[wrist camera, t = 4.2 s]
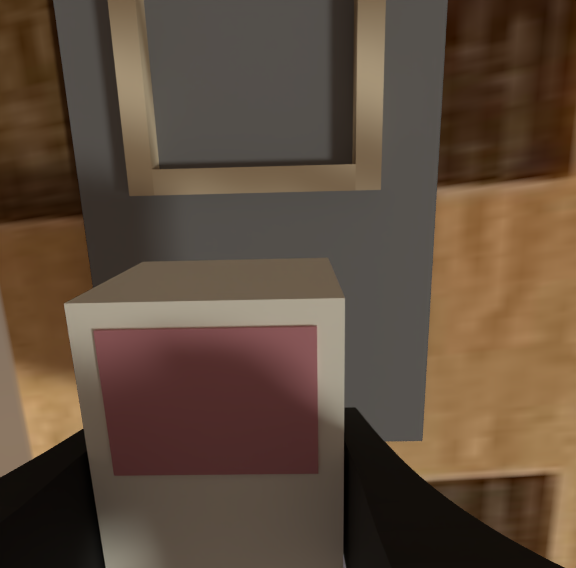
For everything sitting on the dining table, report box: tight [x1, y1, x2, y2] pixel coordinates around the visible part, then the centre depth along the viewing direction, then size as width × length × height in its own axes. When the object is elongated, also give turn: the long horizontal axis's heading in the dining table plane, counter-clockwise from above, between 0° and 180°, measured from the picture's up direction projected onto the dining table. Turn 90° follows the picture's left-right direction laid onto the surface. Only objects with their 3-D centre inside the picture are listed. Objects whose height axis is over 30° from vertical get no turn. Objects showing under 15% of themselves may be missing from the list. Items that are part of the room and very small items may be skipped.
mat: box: [53, 0, 448, 441], centre depth 18 cm, size 26×15×1 cm, turn 1°
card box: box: [64, 258, 345, 568], centre depth 10 cm, size 9×5×4 cm, turn 1°
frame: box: [108, 0, 386, 196], centre depth 16 cm, size 14×10×1 cm
